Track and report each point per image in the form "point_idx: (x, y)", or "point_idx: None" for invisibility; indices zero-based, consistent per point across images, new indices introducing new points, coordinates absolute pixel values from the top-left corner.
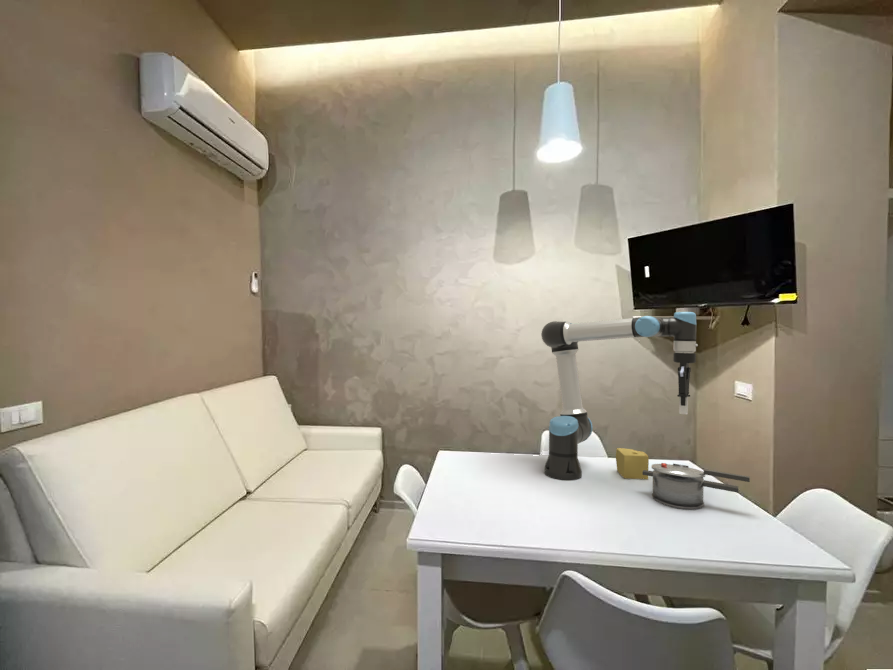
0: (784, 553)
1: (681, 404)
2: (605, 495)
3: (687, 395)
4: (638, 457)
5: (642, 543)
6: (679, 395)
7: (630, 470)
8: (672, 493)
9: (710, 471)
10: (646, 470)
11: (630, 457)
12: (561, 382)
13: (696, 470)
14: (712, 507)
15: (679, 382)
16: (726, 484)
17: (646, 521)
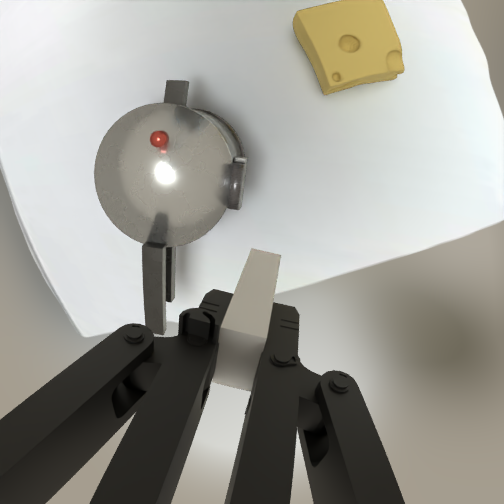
0: (75, 294)
1: (206, 297)
2: (143, 23)
3: (250, 399)
4: (317, 55)
5: (11, 134)
6: (131, 328)
7: (301, 43)
8: None
9: (142, 261)
10: (182, 88)
11: (304, 31)
12: None
13: (190, 227)
14: None
15: (7, 426)
16: (168, 281)
17: (62, 122)
